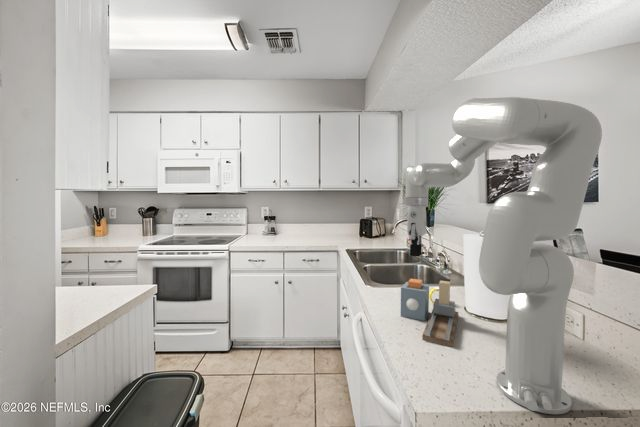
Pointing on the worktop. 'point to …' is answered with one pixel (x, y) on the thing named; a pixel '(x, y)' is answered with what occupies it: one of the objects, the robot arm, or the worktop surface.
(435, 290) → the watch
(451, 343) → the rail board
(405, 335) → the worktop surface
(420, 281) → the button
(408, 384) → the worktop surface
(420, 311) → the end cabinet
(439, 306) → the carriage
